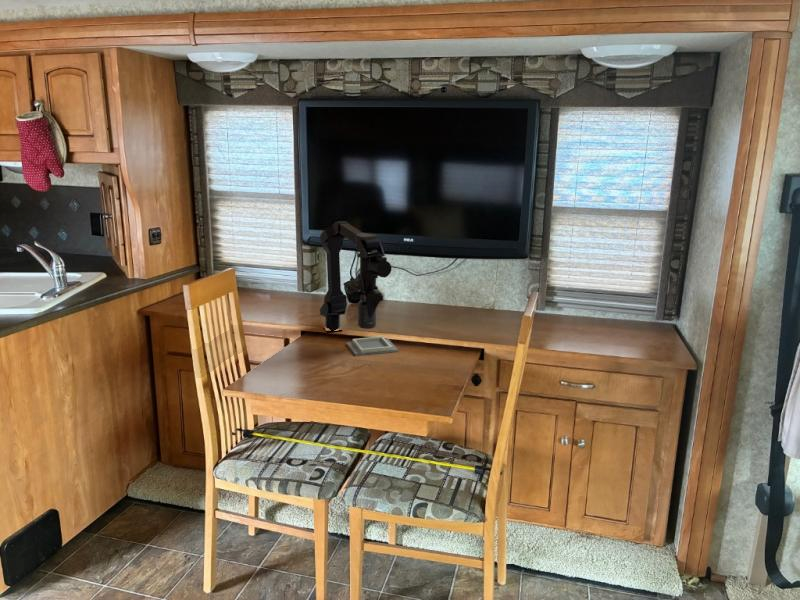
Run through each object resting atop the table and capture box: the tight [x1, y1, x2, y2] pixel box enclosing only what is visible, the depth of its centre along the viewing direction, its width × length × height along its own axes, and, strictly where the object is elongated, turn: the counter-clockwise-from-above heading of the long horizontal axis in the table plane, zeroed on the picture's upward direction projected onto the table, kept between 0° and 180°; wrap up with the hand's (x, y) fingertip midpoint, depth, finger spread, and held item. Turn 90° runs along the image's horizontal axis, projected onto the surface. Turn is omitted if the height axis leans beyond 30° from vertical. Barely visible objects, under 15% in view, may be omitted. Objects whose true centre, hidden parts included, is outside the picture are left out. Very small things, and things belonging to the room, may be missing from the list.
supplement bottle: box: [357, 293, 378, 330], centre depth 217 cm, size 7×7×12 cm
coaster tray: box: [346, 336, 399, 357], centre depth 221 cm, size 12×16×2 cm
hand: (367, 314), depth 217 cm, fingers closed on supplement bottle, 7 cm apart
